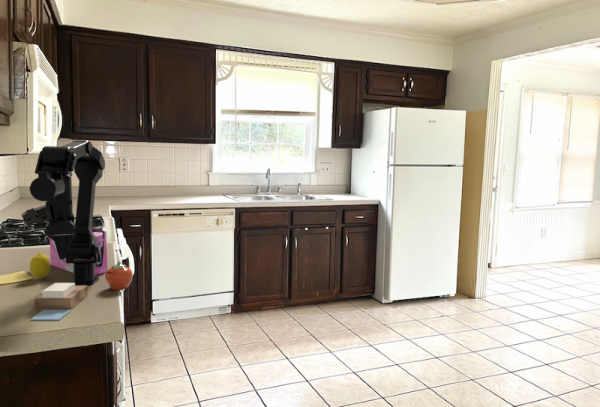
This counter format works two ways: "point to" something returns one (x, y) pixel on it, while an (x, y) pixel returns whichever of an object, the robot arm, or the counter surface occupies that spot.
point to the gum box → (100, 266)
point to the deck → (62, 300)
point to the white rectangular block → (58, 290)
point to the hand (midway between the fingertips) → (62, 254)
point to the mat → (50, 315)
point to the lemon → (40, 266)
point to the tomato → (119, 276)
